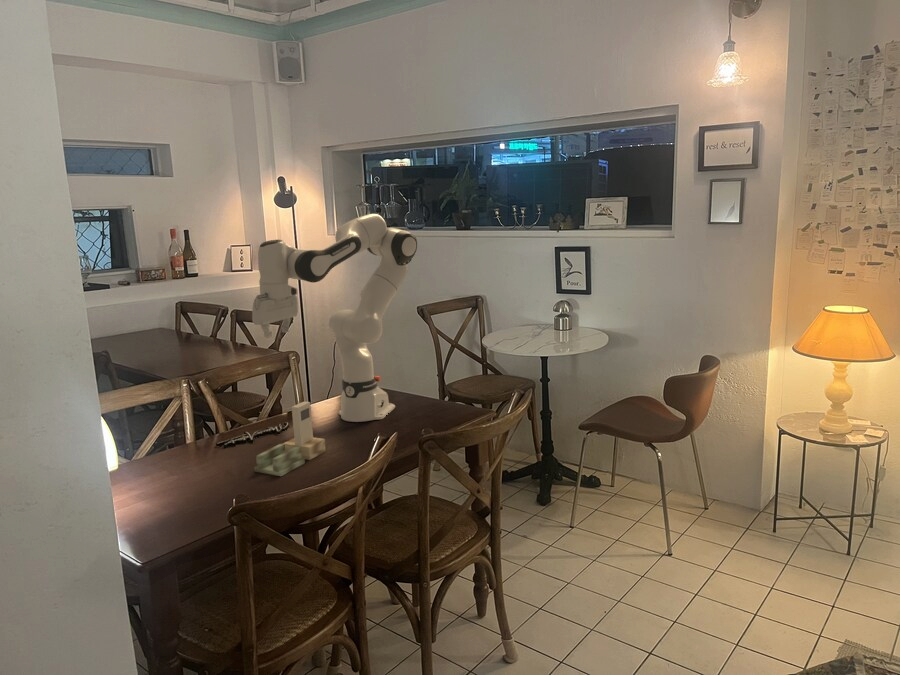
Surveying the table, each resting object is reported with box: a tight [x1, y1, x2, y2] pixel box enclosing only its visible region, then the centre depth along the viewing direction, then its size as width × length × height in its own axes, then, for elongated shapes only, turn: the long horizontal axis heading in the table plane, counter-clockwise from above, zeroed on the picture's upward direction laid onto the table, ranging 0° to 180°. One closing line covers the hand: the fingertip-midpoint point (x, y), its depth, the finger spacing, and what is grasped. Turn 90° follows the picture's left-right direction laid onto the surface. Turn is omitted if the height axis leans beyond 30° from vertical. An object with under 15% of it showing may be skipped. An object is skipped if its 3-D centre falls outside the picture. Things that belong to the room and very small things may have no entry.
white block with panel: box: [291, 401, 314, 445], centre depth 212 cm, size 6×3×12 cm, turn 154°
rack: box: [253, 443, 306, 477], centre depth 203 cm, size 11×10×5 cm
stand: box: [282, 436, 326, 461], centre depth 214 cm, size 8×10×4 cm
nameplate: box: [215, 421, 290, 449], centre depth 231 cm, size 28×2×10 cm
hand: (276, 334), depth 218 cm, fingers open, 8 cm apart
